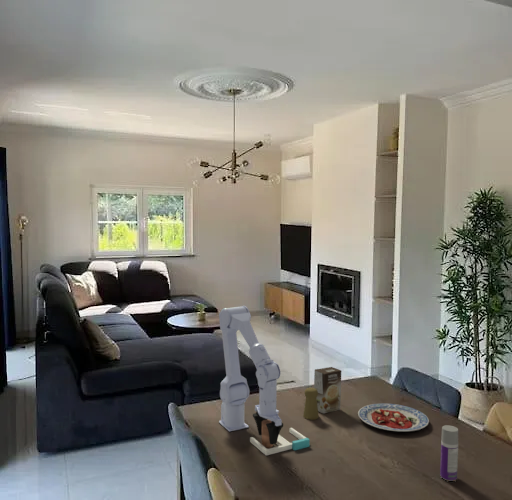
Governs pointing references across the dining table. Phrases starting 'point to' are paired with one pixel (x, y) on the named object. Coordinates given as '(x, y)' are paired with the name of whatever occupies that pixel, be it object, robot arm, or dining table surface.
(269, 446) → the peg
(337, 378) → the coffee box
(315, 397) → the olive yellow shaker
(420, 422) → the ceramic plate
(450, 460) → the container
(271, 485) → the dining table surface
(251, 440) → the slot rack
